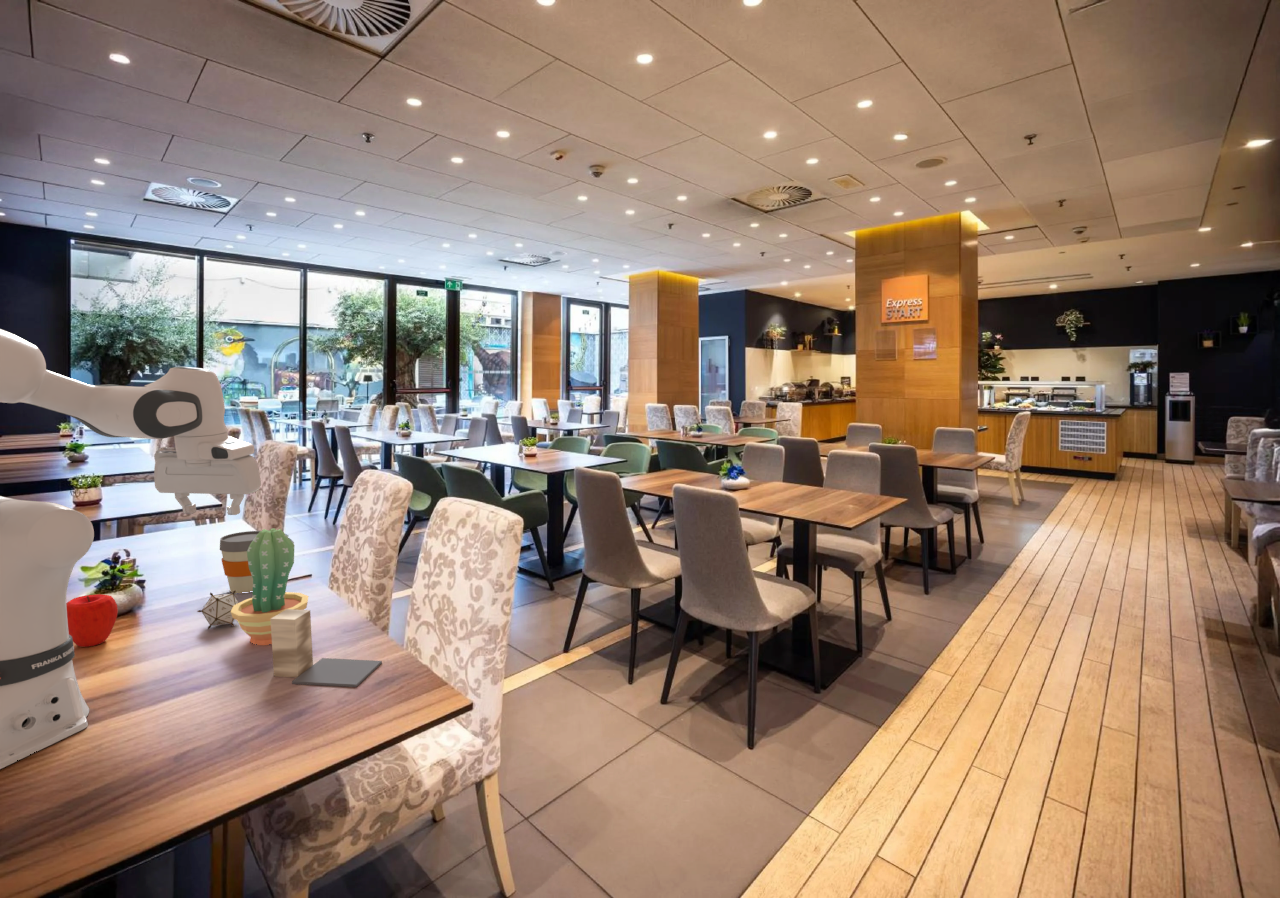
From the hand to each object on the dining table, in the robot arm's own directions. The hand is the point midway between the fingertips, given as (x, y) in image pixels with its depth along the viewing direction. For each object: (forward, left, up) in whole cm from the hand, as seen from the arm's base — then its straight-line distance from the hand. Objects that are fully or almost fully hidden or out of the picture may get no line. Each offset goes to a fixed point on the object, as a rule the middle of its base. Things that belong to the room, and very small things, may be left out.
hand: (212, 513), depth 125 cm
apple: (+5, +34, -32) cm, 46 cm away
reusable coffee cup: (+42, +25, -32) cm, 58 cm away
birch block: (-3, -18, -31) cm, 36 cm away
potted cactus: (+12, -3, -32) cm, 34 cm away
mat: (-3, -28, -31) cm, 42 cm away
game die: (+17, +13, -32) cm, 38 cm away
